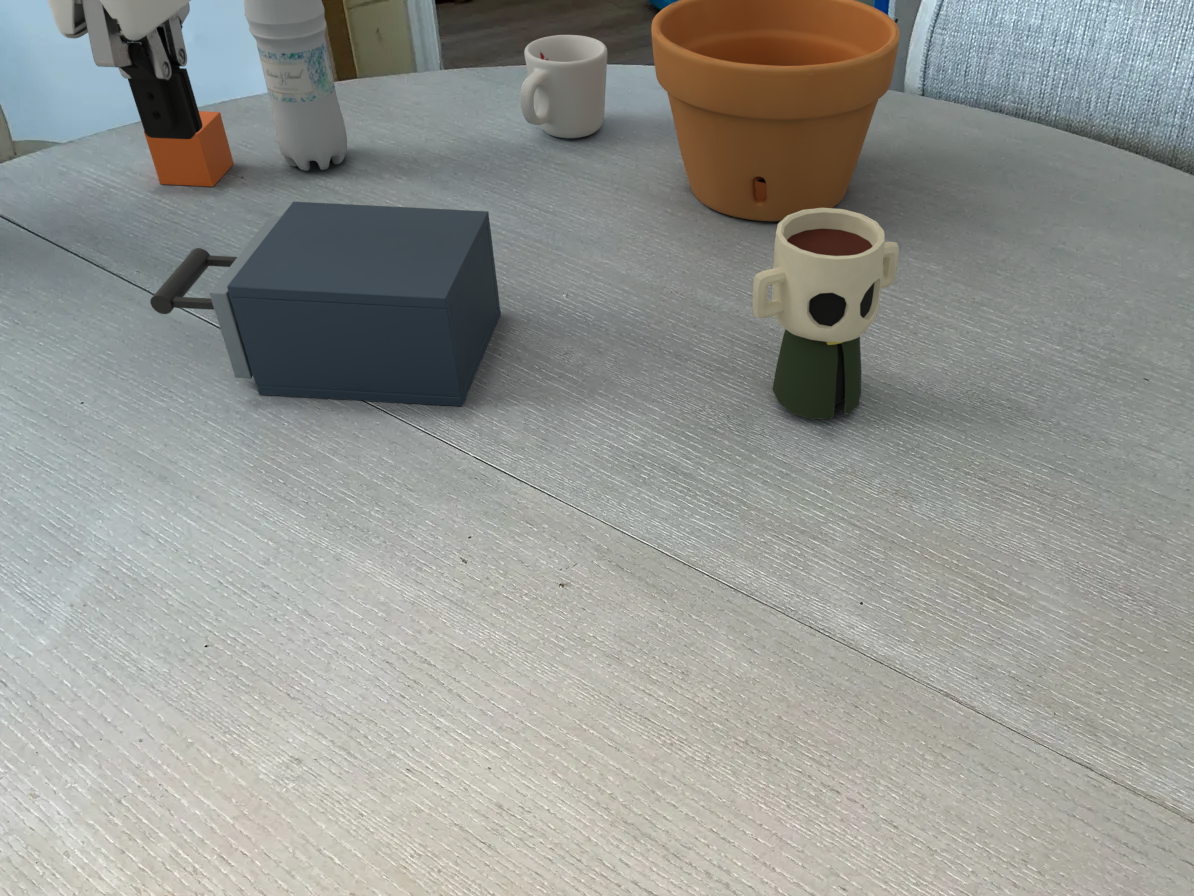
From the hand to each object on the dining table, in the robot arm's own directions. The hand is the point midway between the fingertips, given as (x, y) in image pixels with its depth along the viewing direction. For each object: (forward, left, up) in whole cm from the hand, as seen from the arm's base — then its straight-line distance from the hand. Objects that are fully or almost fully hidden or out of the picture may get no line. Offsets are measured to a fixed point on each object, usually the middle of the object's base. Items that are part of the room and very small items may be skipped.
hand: (175, 133), depth 77 cm
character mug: (+43, -3, -16) cm, 46 cm away
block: (-15, +28, -16) cm, 36 cm away
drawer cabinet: (+11, 0, -16) cm, 20 cm away
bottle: (-5, +32, -16) cm, 36 cm away
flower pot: (+38, +31, -16) cm, 52 cm away
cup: (+17, +41, -16) cm, 47 cm away
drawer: (+6, 0, -15) cm, 16 cm away
